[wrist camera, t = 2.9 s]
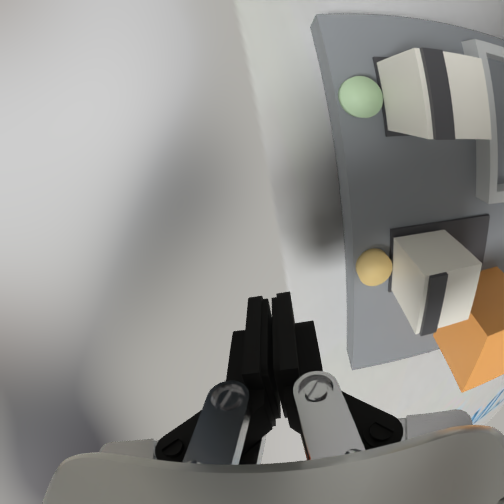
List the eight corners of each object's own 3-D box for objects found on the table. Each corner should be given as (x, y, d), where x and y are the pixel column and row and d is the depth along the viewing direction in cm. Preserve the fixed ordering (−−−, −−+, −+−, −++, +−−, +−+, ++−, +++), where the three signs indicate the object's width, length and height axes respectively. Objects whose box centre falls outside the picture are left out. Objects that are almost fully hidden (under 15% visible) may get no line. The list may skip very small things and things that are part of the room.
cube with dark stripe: (438, 279, 13) (470, 321, 10) (391, 289, 14) (416, 337, 10) (444, 229, 12) (484, 265, 9) (393, 237, 12) (427, 279, 9)
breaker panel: (511, 304, 17) (529, 326, 14) (346, 349, 19) (355, 383, 16) (526, 56, 8) (556, 57, 5) (310, 27, 10) (320, 5, 8)
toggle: (444, 128, 10) (494, 140, 7) (387, 130, 10) (431, 139, 7) (434, 65, 9) (484, 58, 5) (376, 62, 9) (416, 46, 6)
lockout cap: (482, 320, 15) (514, 368, 11) (432, 336, 16) (461, 392, 11) (497, 266, 13) (541, 312, 9) (444, 279, 14) (487, 336, 9)
